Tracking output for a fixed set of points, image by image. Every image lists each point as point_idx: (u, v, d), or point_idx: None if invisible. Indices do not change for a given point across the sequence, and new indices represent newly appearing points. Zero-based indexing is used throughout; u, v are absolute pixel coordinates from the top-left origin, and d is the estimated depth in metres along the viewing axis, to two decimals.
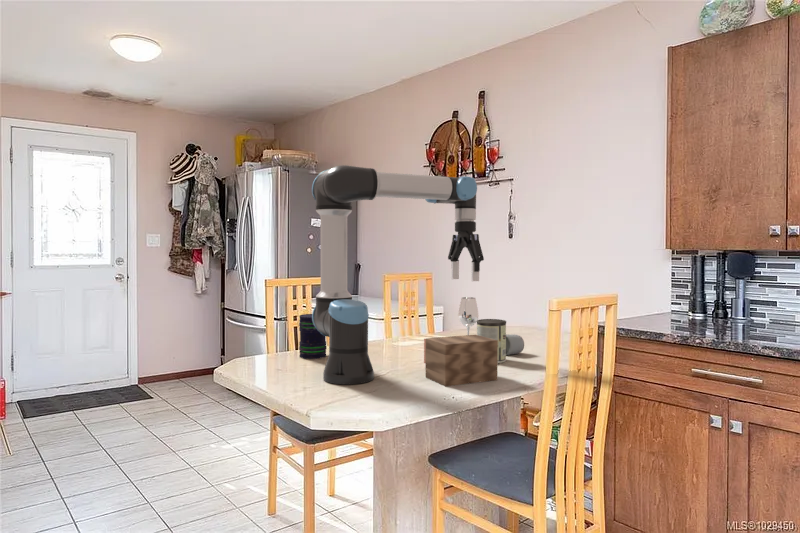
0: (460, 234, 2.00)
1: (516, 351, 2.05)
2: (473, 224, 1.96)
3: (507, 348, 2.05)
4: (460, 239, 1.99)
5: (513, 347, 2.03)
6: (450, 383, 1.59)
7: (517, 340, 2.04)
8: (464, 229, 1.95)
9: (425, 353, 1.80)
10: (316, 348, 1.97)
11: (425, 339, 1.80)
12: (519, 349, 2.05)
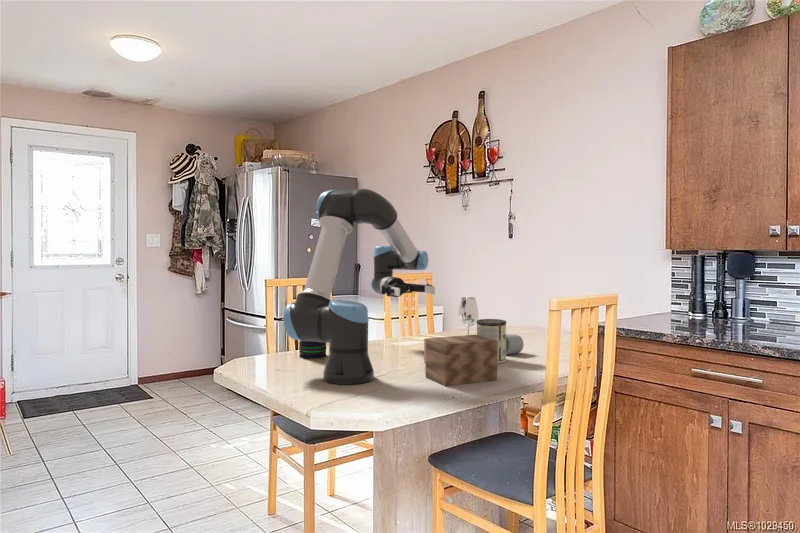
0: None
1: (515, 351, 2.05)
2: None
3: (506, 348, 2.05)
4: (397, 284, 2.07)
5: (512, 347, 2.03)
6: (450, 383, 1.59)
7: (516, 340, 2.05)
8: None
9: (425, 353, 1.80)
10: (316, 348, 1.97)
11: (425, 339, 1.80)
12: (518, 349, 2.05)
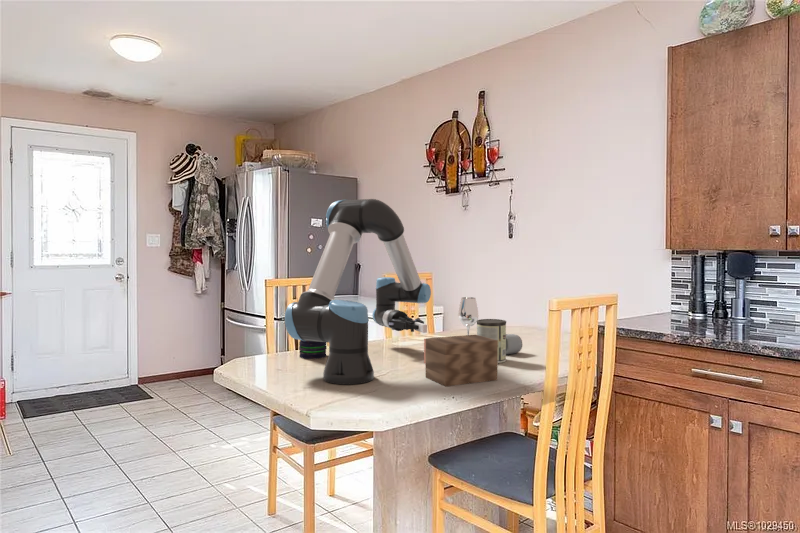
0: (397, 318, 2.06)
1: (514, 351, 2.05)
2: None
3: None
4: None
5: (511, 347, 2.03)
6: (450, 383, 1.59)
7: (515, 339, 2.05)
8: None
9: (425, 353, 1.80)
10: (316, 348, 1.97)
11: (425, 339, 1.80)
12: (517, 349, 2.06)
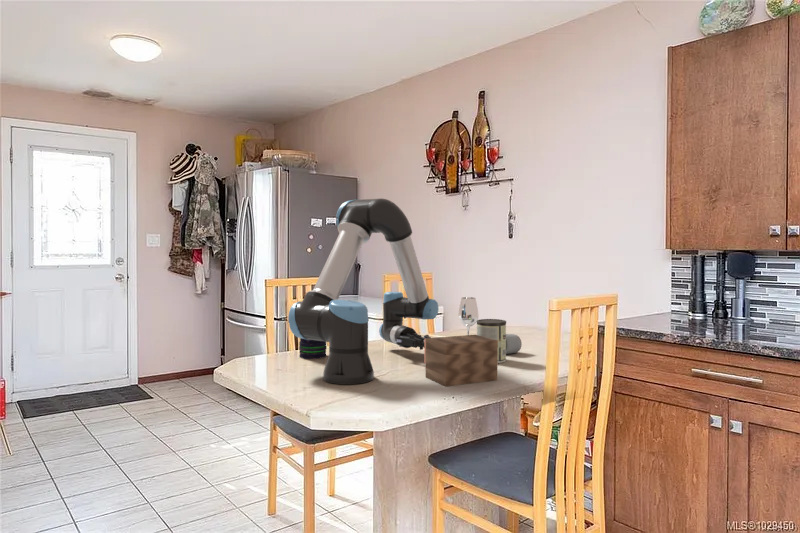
0: (405, 335, 1.99)
1: (513, 350, 2.06)
2: None
3: None
4: None
5: (510, 347, 2.04)
6: (450, 383, 1.59)
7: (514, 339, 2.06)
8: None
9: (425, 353, 1.80)
10: (316, 348, 1.97)
11: (425, 339, 1.80)
12: (516, 348, 2.06)
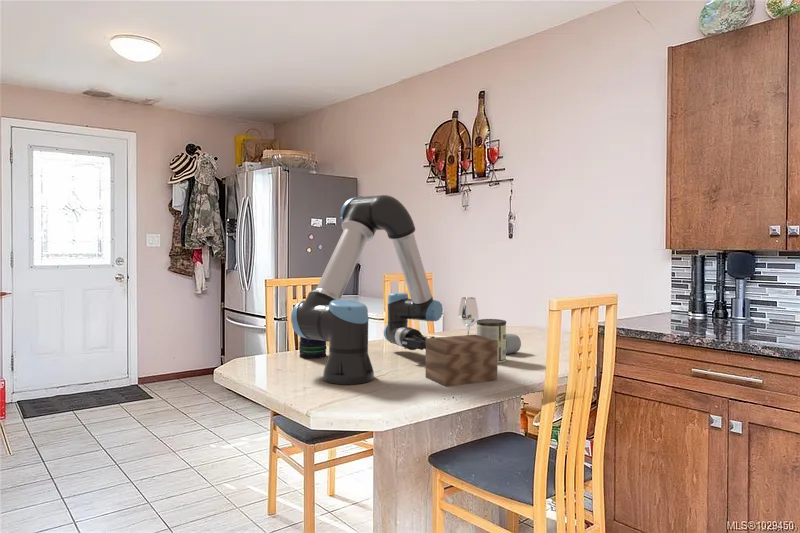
0: (411, 337, 1.95)
1: (513, 350, 2.06)
2: None
3: None
4: None
5: (510, 347, 2.04)
6: (450, 383, 1.59)
7: (513, 339, 2.06)
8: None
9: None
10: (316, 348, 1.97)
11: None
12: (516, 348, 2.06)
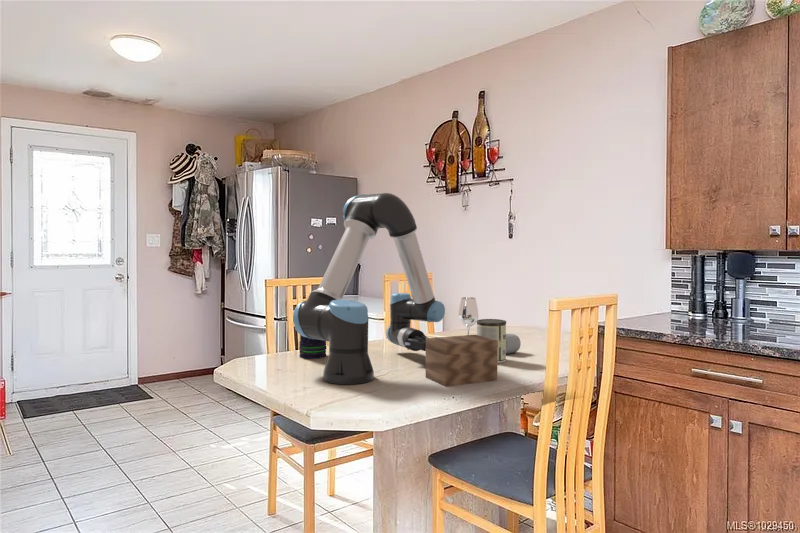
0: (414, 338, 1.93)
1: (512, 350, 2.06)
2: None
3: None
4: None
5: (509, 346, 2.04)
6: (450, 383, 1.59)
7: (513, 339, 2.06)
8: None
9: None
10: (316, 348, 1.97)
11: None
12: (515, 348, 2.07)
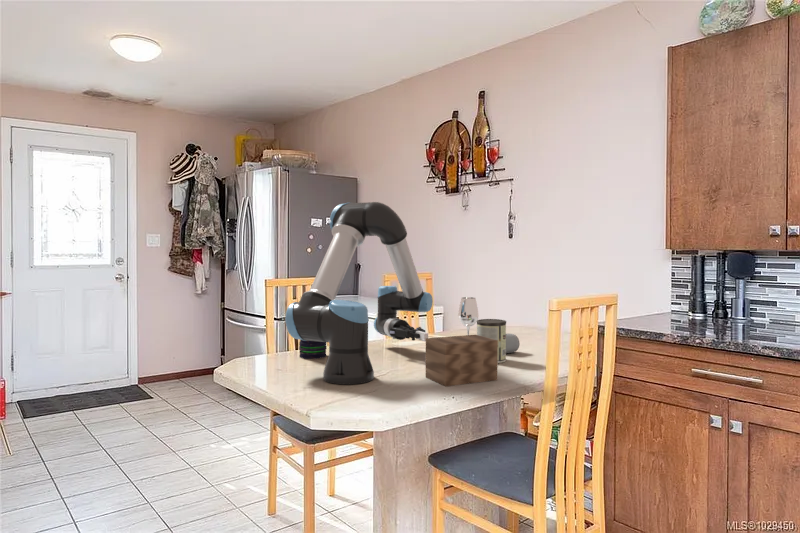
0: (399, 327, 2.05)
1: (511, 350, 2.07)
2: None
3: None
4: (402, 326, 2.03)
5: (508, 346, 2.05)
6: (450, 383, 1.59)
7: (512, 339, 2.07)
8: None
9: None
10: (316, 348, 1.97)
11: None
12: (514, 348, 2.07)
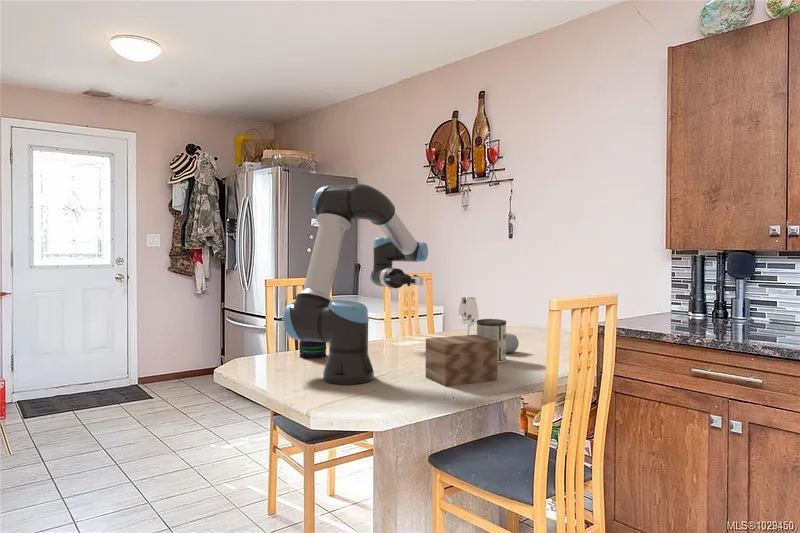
0: (394, 275, 2.07)
1: (510, 350, 2.07)
2: None
3: None
4: None
5: (507, 346, 2.05)
6: (450, 383, 1.59)
7: (511, 339, 2.07)
8: None
9: None
10: (316, 348, 1.97)
11: None
12: (513, 348, 2.08)
